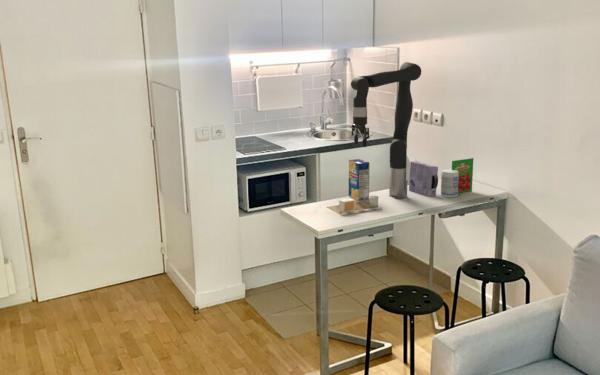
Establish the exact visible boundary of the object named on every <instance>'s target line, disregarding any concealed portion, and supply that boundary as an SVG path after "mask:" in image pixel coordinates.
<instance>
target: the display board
mask: <svg viewBox="0 0 600 375" xmlns="http://www.w3.org/2000/svg"><path fill="white" fill-rule="evenodd" d="M326 208H327V209H329V210H331V211H333V212H335V213H337V214H338V215H341V217H343V216H349V215H350V216H351V215H357V214H363V213H369V212H374V211H375V212H376V211H380V210H383V206H378V207H376V208H370V202H368V201H366V200H361V201H355V211H352V212H346V213H343V212H341V211H339V204H335V205H331V206H326Z"/></svg>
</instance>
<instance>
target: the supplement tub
mask: <svg viewBox="0 0 600 375" xmlns="http://www.w3.org/2000/svg"><path fill="white" fill-rule="evenodd" d="M440 176H441V179H440V180H441V181H440V196H441V197H443V198H447V199H448V198H456V197H458V196H459V194H458V179H459V171H458V170H452V168H446V169H442V170H441V174H440Z"/></svg>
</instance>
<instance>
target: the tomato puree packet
mask: <svg viewBox="0 0 600 375" xmlns="http://www.w3.org/2000/svg"><path fill="white" fill-rule="evenodd" d="M451 169H452V170H458V171H459V179H458V195H461V194H466V193H472V191H473V176H474V173H473V172H474V157H472V158H471V157H470V158H464V159H457V160H451Z"/></svg>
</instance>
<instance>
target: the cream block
mask: <svg viewBox="0 0 600 375" xmlns="http://www.w3.org/2000/svg"><path fill="white" fill-rule="evenodd" d="M355 202H356V199H354V198H352V197H349V198H342V199H339V201H338V203H339V204H338V205H339V211H341V212H343V213H346V212H352V211H355Z"/></svg>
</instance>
